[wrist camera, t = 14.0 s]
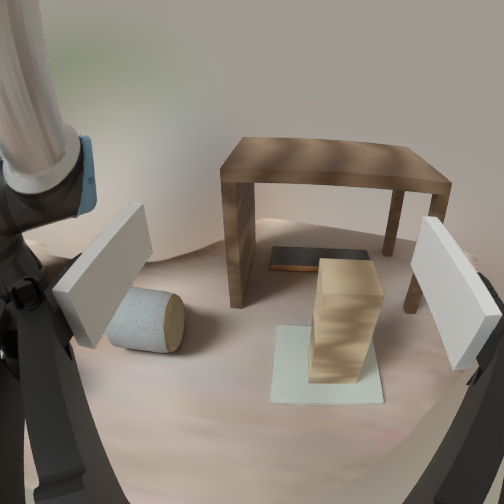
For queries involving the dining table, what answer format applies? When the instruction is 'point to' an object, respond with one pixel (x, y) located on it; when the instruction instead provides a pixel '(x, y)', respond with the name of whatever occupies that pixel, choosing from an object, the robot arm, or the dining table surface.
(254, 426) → the dining table surface
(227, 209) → the small wooden table
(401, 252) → the dining table surface
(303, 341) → the pad
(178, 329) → the ceramic mug
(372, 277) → the maple block
